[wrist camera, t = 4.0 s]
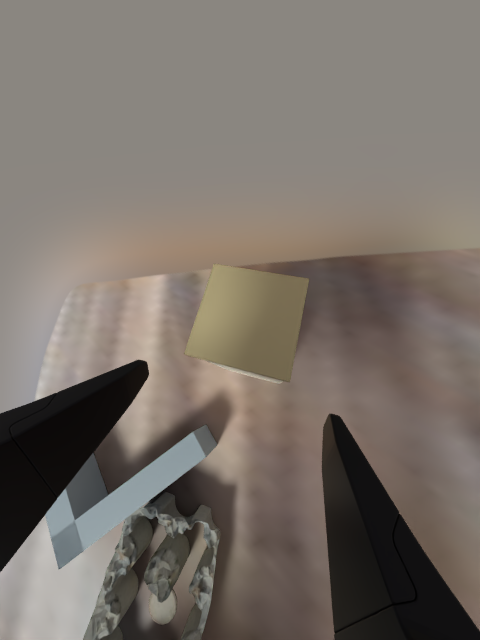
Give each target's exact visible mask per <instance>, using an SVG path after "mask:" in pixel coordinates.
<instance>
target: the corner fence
mask: <svg viewBox="0 0 480 640" xmlns="http://www.w3.org/2000/svg"><path fill="white" fill-rule="evenodd" d="M216 446H217V443H216V441H215V440H214V438H213V436H212V434H211V433H210V431H209V429H208V427H207V425H204V426H202V427H201V428H199V429H197V430H195V431H193V432H192V433H191V434H189V435H188V436H187V437H185V438H184V439H183V440H181V441H180V442H179V443H177V444H176V445H175V446H173V447H172V448H171V449H169V450H168V451H167V452H165V453H164V454H163V455H161V456H160V457H159V458H157V459H156V460H155V461H153V462H152V463H151V464H149V465H148V466H147V467H145V468H144V469H143V470H141V471H140V472H139V473H137V474H136V475H135V476H133V477H132V478H131V479H129V480H128V481H127V482H125V483H124V484H123V485H121V486H120V487H119V488H117V489H116V490H115V491H113V492H112V493H111V494H109V495H108V492H107V489H106V487H105V484H104V481H103V478H102V475H101V472H100V470H99V467H98V464H97V461H96V458H95V456H94V453H93V454H92V455H91V456H90V457H89V459H88V460H87V461H86V463H85V464H84V465H83V466H82V468H81V469H80V470H79V472H78V473H77V474H76V475H75V477H74V478H73V479H72V481H71V482H70V483H69V484H68V486H67V487H66V488H65V490H64V491H63V492H62V493H61V495H60V496H59V497H58V498H57V500H56V501H55V503H54V504H53V505H52V507H51V508H50V509H49V510H48V512H47V513H46V514H45V516H46V520H47V524H48V528H49V532H50V536H51V540H52V544H53V548H54V552H55V556H56V560H57V564H58V568H59V569H61V568H62V567H63V566H64V565H66V564H67V563H68V562H70V561H71V560H72V559H74V558H75V557H76V556H77V555H79V554H80V553H81V552H83V551H84V550H85V549H87V548H88V547H89V546H91V545H92V544H93V543H94V542H96V541H97V540H98V539H100V538H101V537H102V536H104V535H105V534H106V533H108V532H109V531H110V530H111V529H113V528H114V527H115V526H117V525H118V524H119V523H121V522H122V521H123V520H124V519H126V518H127V517H128V516H130V515H131V514H132V513H134V512H135V511H136V510H138V509H139V508H140V507H141V506H143V505H144V504H145V503H147V502H148V501H149V500H151V499H152V498H153V497H155V496H156V495H157V494H158V493H160V492H161V491H162V490H164V489H165V488H166V487H168V486H169V485H170V484H171V483H173V482H174V481H175V480H177V479H178V478H179V477H181V476H182V475H183V474H185V473H186V472H187V471H188V470H190V469H191V468H192V467H194V466H195V465H196V464H198V463H199V462H200V461H202V460H203V459H204V458H205V457H207V456H208V454H209V453H210V452H211V451H212V450H213V449H214V448H215V447H216Z"/></svg>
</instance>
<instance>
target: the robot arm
mask: <svg viewBox="0 0 480 640" xmlns="http://www.w3.org/2000/svg"><path fill="white" fill-rule="evenodd" d="M148 376H149V370H148V365H147V362H146V361H143V360H136V361H134V362H131V363H129V364H126V365H124V366H121V367H119V368H116V369H114V370H112V371H109V372H107V373H104V374H102V375H99V376H97V377H94V378H92V379H89V380H87V381H84V382H82V383H79V384H77V385H74V386H72V387H69V388H67V389H64V390H62V391H59V392H58V393H54V394H52V395H50V396H47V397H45V398H42V399H39V400H37V401H34V402H32V403H29V404H26V405H23V406H21V407H18V408H15V409H12V410H9V411H6V412H4V413H1V414H0V572H1V571H2V569H3V568H4V567H5V566H6V564H7V563H8V562H9V561H10V559H11V558H12V557H13V555H14V554H15V553H16V552H17V550H18V549H19V548H20V546H21V545H22V544H23V543H24V541H25V540H26V539H27V537H28V536H29V535H30V534H31V532H32V531H33V530H34V528H35V527H36V526H37V525H38V523H39V522H40V521H41V519H42V518H43V517H44V516H45V514H46V513H47V512H48V510H49V509H50V508H51V507H52V505H53V504H54V503H55V501H56V500H57V498H58V497H59V496H60V495H61V493H62V492H63V491H64V490H65V488H66V487H67V486H68V484H69V483H70V482H71V481H72V479H73V478H74V477H75V475H76V474H77V473H78V472H79V470H80V469H81V468H82V466H83V465H84V464H85V463H86V461H87V460H88V459H89V457H90V456H91V455H92V454H93V452H94V451H95V450H96V448H97V447H98V446H99V445H100V443H101V442H102V441H103V439H104V438H105V437H106V436H107V434H108V433H109V432H110V430H111V429H112V428H113V427H114V425H115V424H116V423H117V421H118V420H119V419H120V418H121V416H122V415H123V414H124V412H125V411H126V410H127V409H128V407H129V406H130V405H131V403H132V402H133V400H134V399H135V397H136V396H137V394H138V392H139V391H140V389H141V388H142V386H143V384H144V383H145V381H146V380H147V378H148ZM322 477H323V491H324V504H325V517H326V530H327V544H328V557H329V570H330V583H331V596H332V610H333V623H334V632H335V634H334V638H335V640H480V631H479V629H478V628H477V627H476V625H475V624H474V622H473V621H472V620H471V618H470V617H469V615H468V614H467V612H466V611H465V610H464V608H463V607H462V605H461V604H460V602H459V601H458V600H457V598H456V597H455V595H454V594H453V593H452V591H451V590H450V588H449V587H448V585H447V584H446V583H445V581H444V580H443V578H442V577H441V575H440V574H439V572H438V571H437V570H436V568H435V567H434V565H433V564H432V562H431V561H430V559H429V558H428V556H427V555H426V553H425V552H424V551H423V549H422V547H421V546H420V544H419V543H418V541H417V540H416V538H415V536H414V535H413V533H412V532H411V530H410V529H409V527H408V525H407V524H406V522H405V521H404V519H403V517H402V516H401V515H400V514H399V511H398V509H397V508H396V506H395V505H394V503H393V501H392V500H391V498H390V496H389V495H388V493H387V492H386V490H385V488H384V487H383V485H382V483H381V482H380V480H379V479H378V477H377V475H376V474H375V472H374V470H373V469H372V467H371V466H370V464H369V462H368V461H367V459H366V458H365V456H364V454H363V453H362V451H361V449H360V448H359V446H358V445H357V443H356V441H355V440H354V438H353V436H352V435H351V433H350V432H349V430H348V428H347V427H346V425H345V423H344V422H343V420H342V419H341V417H340V416H338V415H335V414H329V415H328V417H327V419H326V422H325V424H324V427H323V448H322Z"/></svg>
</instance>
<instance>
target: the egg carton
mask: <svg viewBox="0 0 480 640" xmlns="http://www.w3.org/2000/svg"><path fill="white" fill-rule="evenodd" d="M145 516H146V517H148V518H149V519H153V518H154V517H157V518H158V524H161V525H163V526H165V530H166V533H167V534H168V535H167V536H166V538H165V539H164V541H163V542H162V543H161V545H160V546H159V548H158V549H157V550H156V552H155V553H154V554H153V556H152V557H151V559H150V561H149V563H148V566H147V568H146V571H145V574H144V581H145V582H146V584H147V586H148V588H149V590H150V591H151V592H152V594H151V596H150V599H149V612H150V615H151V617H152V619H153V620H154V622H155V623H157V624H160V625H163V624H167V623H169V622H170V621H171V620H172V619H173V617H174V615H175V613H176V607H177V598H176V595H175V592H174V590H173V589H172V588H173V586H174V585H175V583H176V581H177V580H178V577H179V575H180V573H181V571H182V569H183V567H184V565H185V563H186V561H187V558H188V556H189V541H188V539H187V537H186V536H185V535H184V534H183V533H184V531H185V530H186V529H187V528H188V530H190V529H192V528H193V526H194V524H195V523H196V522H201V523H203V524H204V539H205V541H206V543H207V545H208V549H207V550H205V552H204V554H203V556H202V558H201V560H200V562H199V564H198V567H197V569H196V572H195V574H194V577H193V580H192V582H191V584H190V586H189V593H190V594H191V593H192V594H193V595H194V597H195V600H196V605H195V606H194V607H193V609H192V610H191V613H190V615H189V618H188V621H187V623H186V626H185V629H184V631H183V634H182V637H181V640H201V637H202V634H203V630H204V627H205V623H206V620H207V616H208V612H209V608H210V603H211V597H212V589H213V581H214V573H215V566H216V554H217V549H218V544H219V541H220V530H219V529H218V528H217V527H216V526H215V524H214V523H213V520H212V513H211V508H209V507H207V506H204V505H200V506H199V508H198V510H197V511H196V513H195V514H194V515H192V516H190V517H184V516H182V515H181V514H180V513H179V512H178V510H177V508H176V505H175V496H174V495H173V494H170V493H167V492H164V493H163V494H162V495H161V496H160V497H159V498H158V499H157V500H156V501H155V502H154V503H148V504H147V505H146V506H145V507H144V508H139V509H138V510H136V511H135V512H134V513H132V514H131V515H130V516H128V517H127V518H126V519H125V522H124V525H123V528H122V535H121V538H120V541H119V543H118V545H117V546H116V548H115V550H116V552H115V554H114V556H113V558H112V560H111V562H110V564H109V566H108V568H107V571H106V576H105V580H104V583H103V586H102V588H101V591H100V594H99V596H98V600H97V604H96V607H95V610H94V612H93V615H92V617H91V620H90V622H89V625H88V628H87V630H86V633H85V635H84V638H83V640H123V634H122V631H121V629H120V628H119V626H118V624H119V622H120V621H121V619H122V618H123V616H124V614H125V613H126V611H127V610H128V608H129V607H130V605H131V603H132V602H133V600H134V599H135V597H136V595H137V592H138V578H137V575H136V573H135V572H134V570H133V569H132V566H133V565H134V564H135V562H136V561H137V560H138V558H139V557H140V556H141V555H142V553H143V552H144V551H145V549H146V548H147V547H148V546H149V544H150V542H151V539H152V526H151V524H150V522H149V521H148V519H147V518H146V517H145Z"/></svg>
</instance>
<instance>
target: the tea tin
mask: <svg viewBox="0 0 480 640" xmlns="http://www.w3.org/2000/svg"><path fill="white" fill-rule="evenodd" d="M308 283H309V279H308V278H301V277H295V276H289V275H282V274H276V273H270V272H263V271H257V270H251V269H244V268H238V267H232V266H225V265H219V264H214V265H213V268H212V271H211V274H210V277H209V281H208V284H207V287H206V290H205V293H204V296H203V299H202V302H201V305H200V308H199V311H198V314H197V317H196V320H195V323H194V326H193V329H192V332H191V335H190V338H189V341H188V344H187V347H186V350H185V353H184V354H185V355H188V356H190V357H194V358H198V359H202V360H205V361H208V362H210V363H212V364H215V365H217V366H219V367H222V368H224V369H226V370H229V371H233V372H237V373H240V374H244V375H248V376H252V377H255V378H259V379H263V380H267V381H270V382H274V383H278V384H279V383H281V382H283V381H286V382H290V378H291V373H292V367H293V362H294V357H295V352H296V346H297V341H298V336H299V330H300V325H301V320H302V315H303V309H304V304H305V299H306V293H307V288H308Z"/></svg>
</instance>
